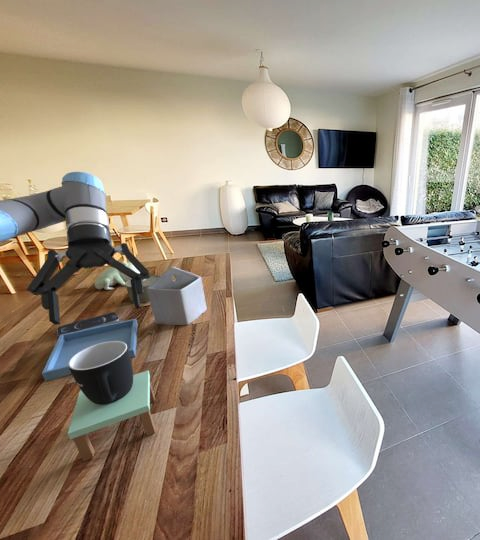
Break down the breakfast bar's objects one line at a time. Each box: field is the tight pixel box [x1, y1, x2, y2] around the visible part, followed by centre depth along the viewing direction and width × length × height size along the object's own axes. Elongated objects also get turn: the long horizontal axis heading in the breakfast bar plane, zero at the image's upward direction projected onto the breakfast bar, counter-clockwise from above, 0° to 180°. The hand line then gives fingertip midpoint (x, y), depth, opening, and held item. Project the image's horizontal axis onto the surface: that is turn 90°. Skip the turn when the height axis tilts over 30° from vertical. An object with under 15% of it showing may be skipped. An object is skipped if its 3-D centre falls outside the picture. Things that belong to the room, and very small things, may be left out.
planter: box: [147, 266, 208, 326], centre depth 98 cm, size 16×8×19 cm, turn 131°
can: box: [124, 274, 161, 304], centre depth 116 cm, size 12×12×7 cm
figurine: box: [94, 259, 140, 291], centre depth 124 cm, size 10×16×10 cm, turn 134°
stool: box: [67, 370, 156, 462], centre depth 61 cm, size 12×12×8 cm
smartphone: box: [56, 311, 120, 338], centre depth 96 cm, size 8×1×15 cm
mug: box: [68, 341, 134, 405], centre depth 58 cm, size 12×9×10 cm
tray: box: [41, 318, 139, 382], centre depth 85 cm, size 19×20×2 cm
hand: (98, 314), depth 62 cm, fingers open, 13 cm apart
